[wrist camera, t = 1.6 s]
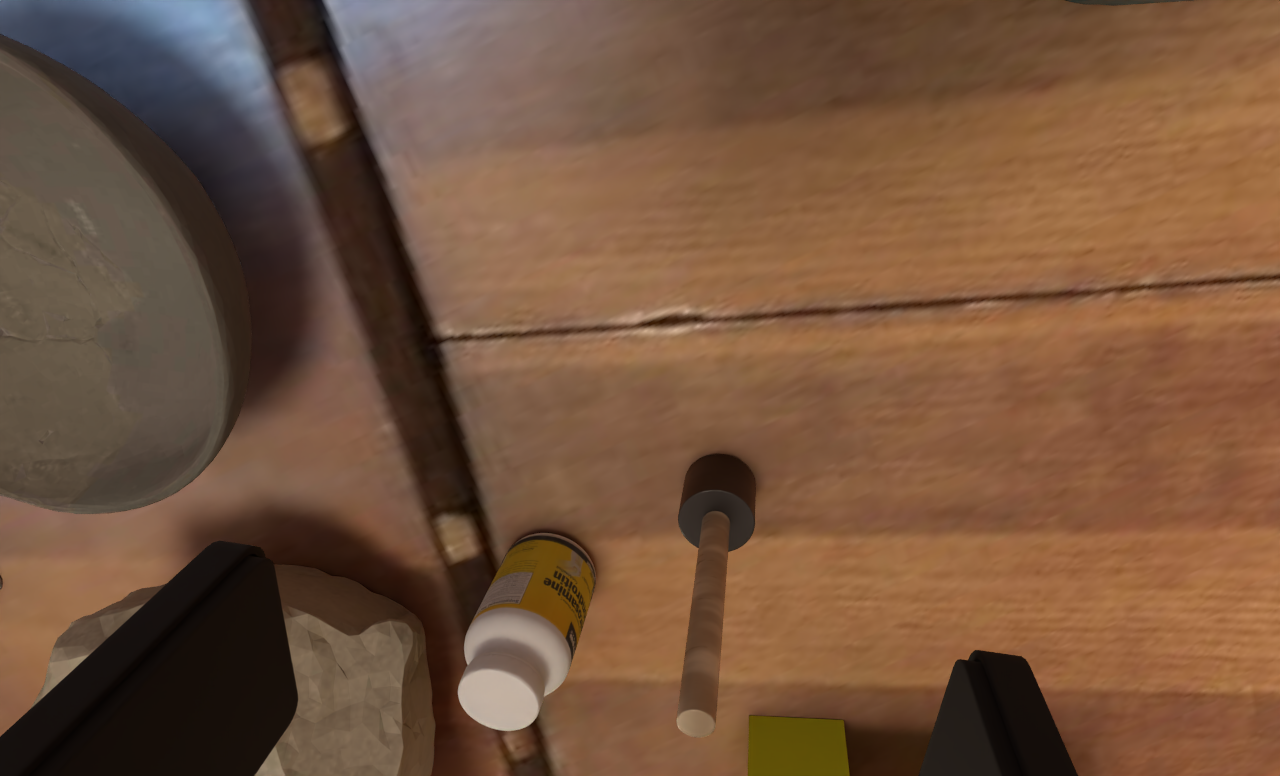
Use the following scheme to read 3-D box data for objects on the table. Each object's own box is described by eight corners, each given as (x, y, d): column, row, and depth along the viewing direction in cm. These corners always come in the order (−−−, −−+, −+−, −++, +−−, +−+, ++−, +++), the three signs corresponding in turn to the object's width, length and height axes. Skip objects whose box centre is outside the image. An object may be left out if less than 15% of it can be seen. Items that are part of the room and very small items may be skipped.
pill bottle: (601, 606, 52) (560, 749, 42) (512, 600, 53) (451, 738, 43) (594, 530, 50) (549, 662, 39) (500, 525, 51) (432, 653, 40)
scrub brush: (745, 447, 45) (734, 678, 29) (763, 507, 47) (761, 756, 31) (676, 461, 46) (628, 690, 30) (695, 518, 48) (660, 765, 32)
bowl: (399, 395, 47) (314, 480, 38) (84, 467, 54) (-51, 554, 45) (185, -64, 37) (4, -93, 29) (-168, 94, 44) (-403, 110, 35)
